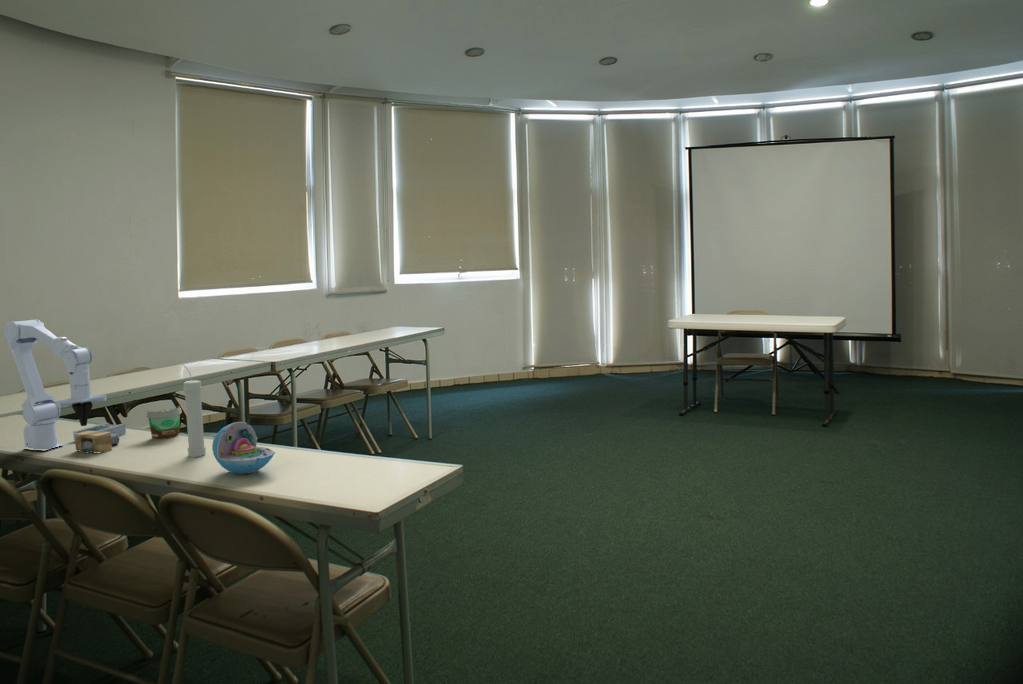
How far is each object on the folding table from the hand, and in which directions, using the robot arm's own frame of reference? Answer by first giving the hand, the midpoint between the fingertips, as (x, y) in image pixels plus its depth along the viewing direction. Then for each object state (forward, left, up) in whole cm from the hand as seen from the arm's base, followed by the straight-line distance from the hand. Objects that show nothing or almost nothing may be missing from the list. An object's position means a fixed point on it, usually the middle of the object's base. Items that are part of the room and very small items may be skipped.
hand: (83, 425), depth 242 cm
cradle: (-13, +18, -9) cm, 24 cm away
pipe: (+38, +7, -10) cm, 40 cm away
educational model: (+66, -5, -10) cm, 67 cm away
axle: (0, +6, -10) cm, 11 cm away
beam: (0, +3, -9) cm, 10 cm away
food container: (+11, +25, -10) cm, 29 cm away
